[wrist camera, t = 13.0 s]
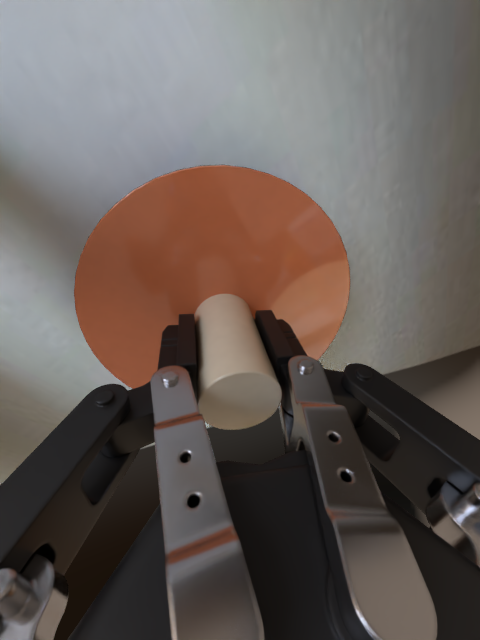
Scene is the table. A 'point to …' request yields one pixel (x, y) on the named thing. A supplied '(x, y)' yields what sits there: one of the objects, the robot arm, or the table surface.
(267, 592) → the robot arm
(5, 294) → the table surface
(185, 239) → the teapot lid
